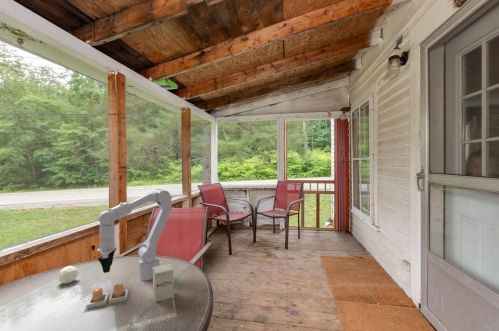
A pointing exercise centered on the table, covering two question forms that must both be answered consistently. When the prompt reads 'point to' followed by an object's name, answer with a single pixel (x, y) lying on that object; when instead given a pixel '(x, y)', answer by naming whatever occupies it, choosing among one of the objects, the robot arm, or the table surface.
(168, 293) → the supplement box
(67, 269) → the ball
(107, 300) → the housing
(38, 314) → the table surface
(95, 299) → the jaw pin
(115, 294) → the jaw pin
